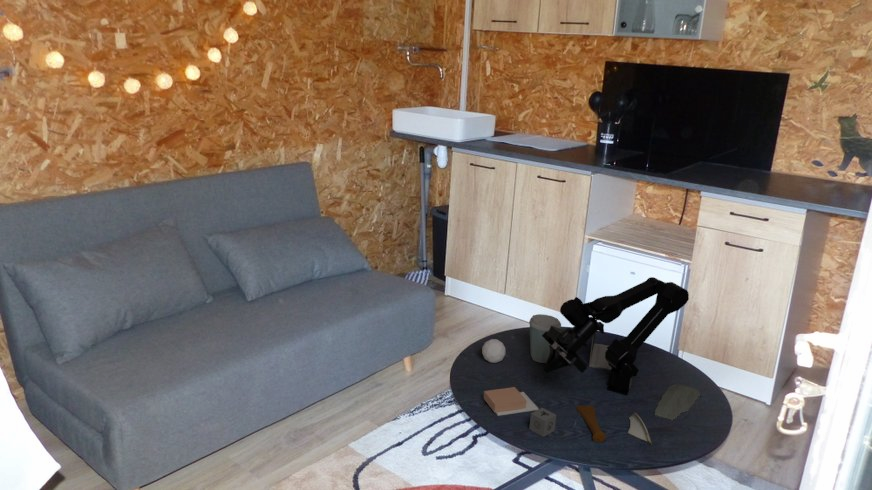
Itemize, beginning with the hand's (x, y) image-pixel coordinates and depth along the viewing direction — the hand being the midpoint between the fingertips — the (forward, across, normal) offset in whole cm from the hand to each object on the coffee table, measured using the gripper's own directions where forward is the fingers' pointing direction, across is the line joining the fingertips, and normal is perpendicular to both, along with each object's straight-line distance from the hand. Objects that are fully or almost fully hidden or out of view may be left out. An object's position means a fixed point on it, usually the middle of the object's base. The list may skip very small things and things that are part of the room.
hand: (544, 371), depth 207 cm
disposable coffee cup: (-2, -24, +16) cm, 29 cm away
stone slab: (-21, +13, +35) cm, 43 cm away
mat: (+14, 0, -1) cm, 14 cm away
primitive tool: (+2, +15, +12) cm, 20 cm away
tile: (+10, 0, 0) cm, 10 cm away
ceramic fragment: (-6, +22, +21) cm, 31 cm away
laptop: (-18, -19, +33) cm, 42 cm away
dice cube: (+12, +15, +1) cm, 19 cm away
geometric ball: (+10, -27, +4) cm, 29 cm away
